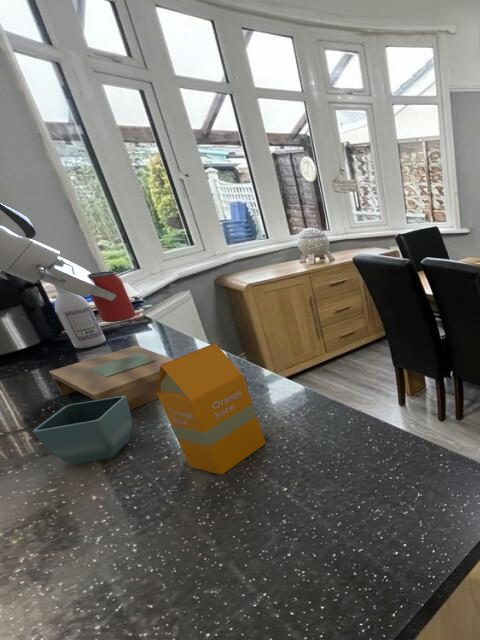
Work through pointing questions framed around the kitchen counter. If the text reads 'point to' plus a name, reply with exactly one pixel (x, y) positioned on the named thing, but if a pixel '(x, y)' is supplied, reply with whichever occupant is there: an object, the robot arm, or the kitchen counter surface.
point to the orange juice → (209, 409)
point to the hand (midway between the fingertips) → (113, 294)
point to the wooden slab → (114, 376)
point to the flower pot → (87, 430)
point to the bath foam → (78, 319)
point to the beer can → (121, 303)
